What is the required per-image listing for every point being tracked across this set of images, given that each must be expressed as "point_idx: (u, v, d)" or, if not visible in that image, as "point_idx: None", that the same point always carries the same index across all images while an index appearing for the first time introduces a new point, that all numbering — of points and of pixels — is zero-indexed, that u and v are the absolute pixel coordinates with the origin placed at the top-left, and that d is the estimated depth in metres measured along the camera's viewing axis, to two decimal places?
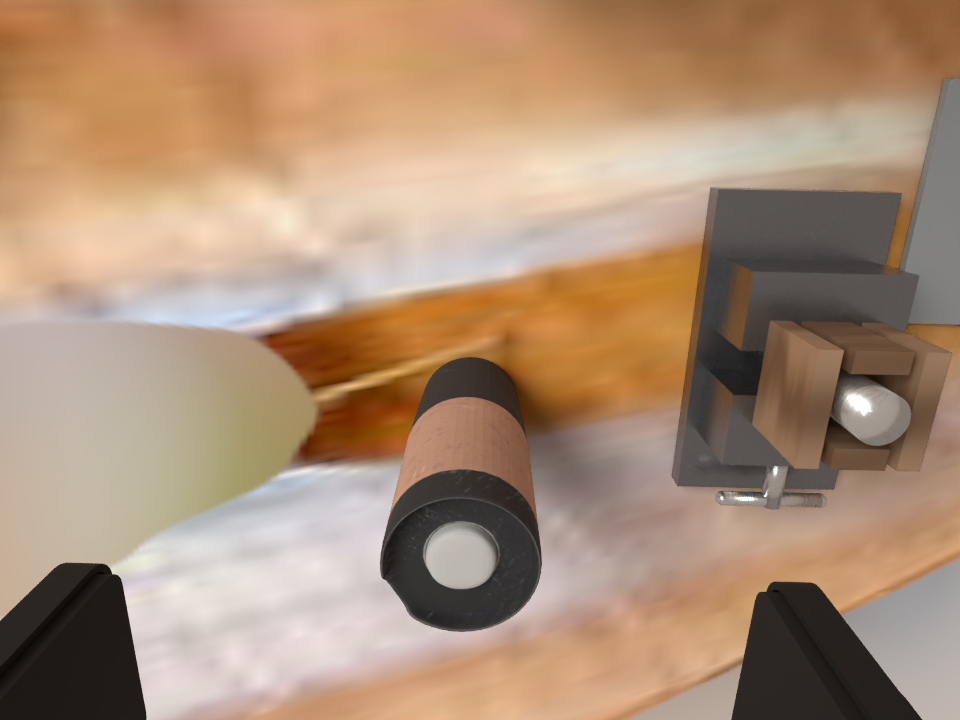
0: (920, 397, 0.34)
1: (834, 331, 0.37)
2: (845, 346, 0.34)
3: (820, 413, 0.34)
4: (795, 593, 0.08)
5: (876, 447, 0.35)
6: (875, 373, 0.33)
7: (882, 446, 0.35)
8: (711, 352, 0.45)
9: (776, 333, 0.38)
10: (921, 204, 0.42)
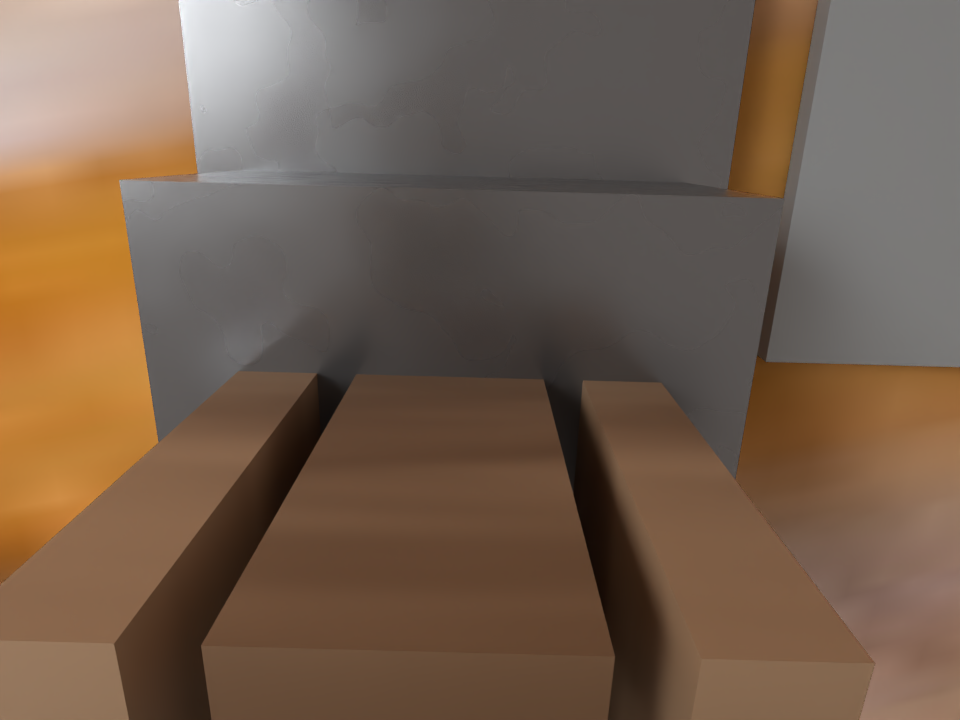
0: None
1: (385, 434, 0.08)
2: (250, 571, 0.06)
3: None
4: None
5: None
6: None
7: None
8: None
9: None
10: (833, 8, 0.14)
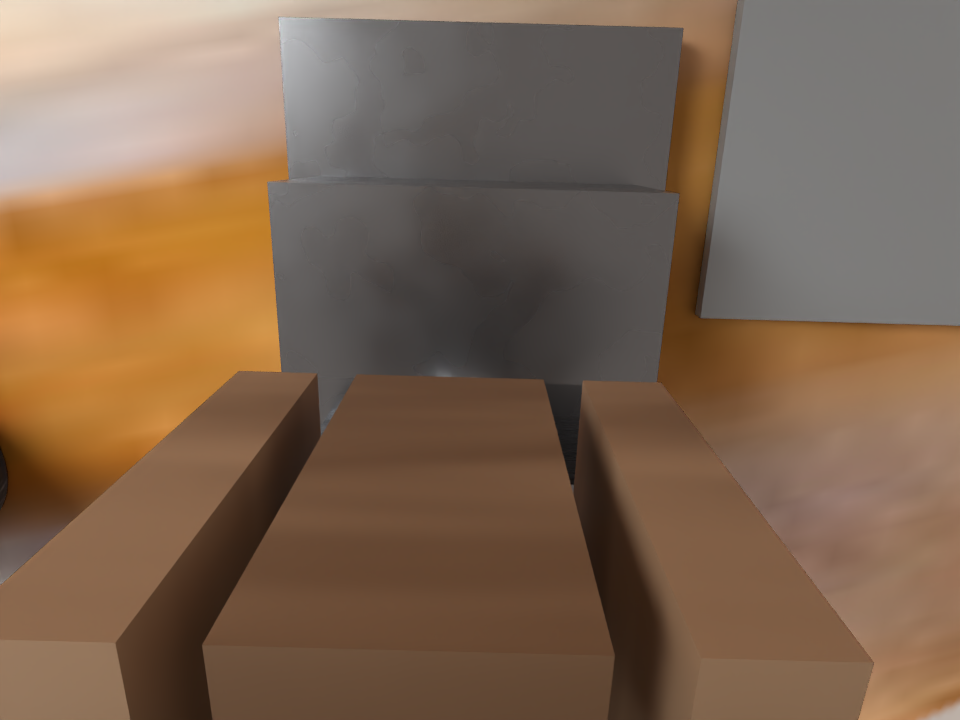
0: None
1: (385, 434, 0.08)
2: (250, 569, 0.06)
3: None
4: None
5: None
6: None
7: None
8: None
9: None
10: (739, 62, 0.20)
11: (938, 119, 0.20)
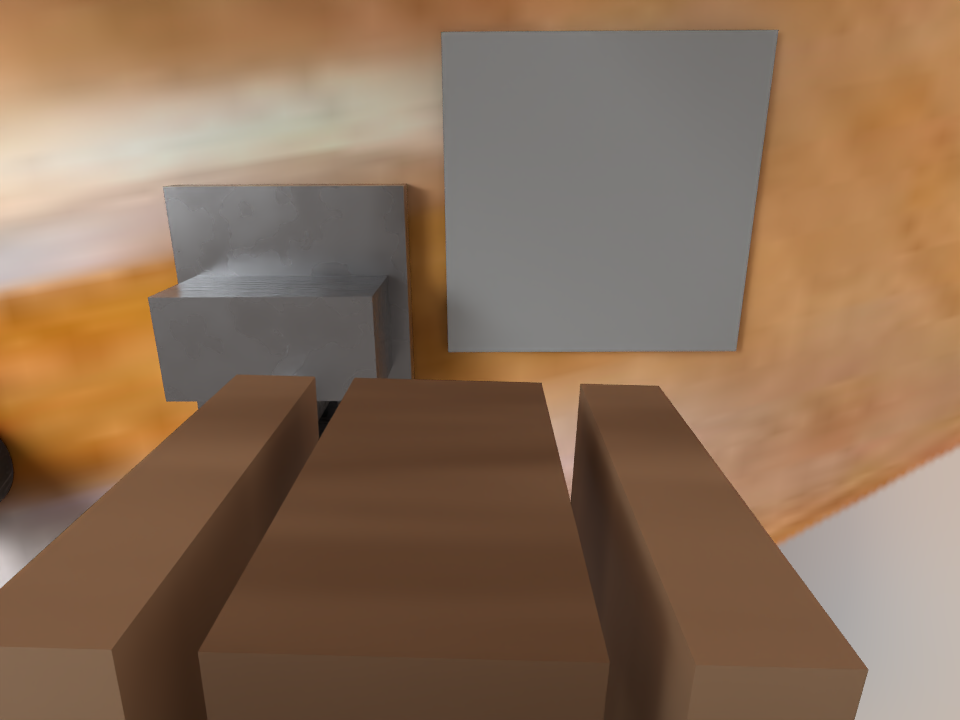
0: None
1: (382, 438, 0.08)
2: (246, 575, 0.06)
3: None
4: None
5: None
6: None
7: None
8: None
9: None
10: (447, 199, 0.32)
11: (573, 228, 0.33)
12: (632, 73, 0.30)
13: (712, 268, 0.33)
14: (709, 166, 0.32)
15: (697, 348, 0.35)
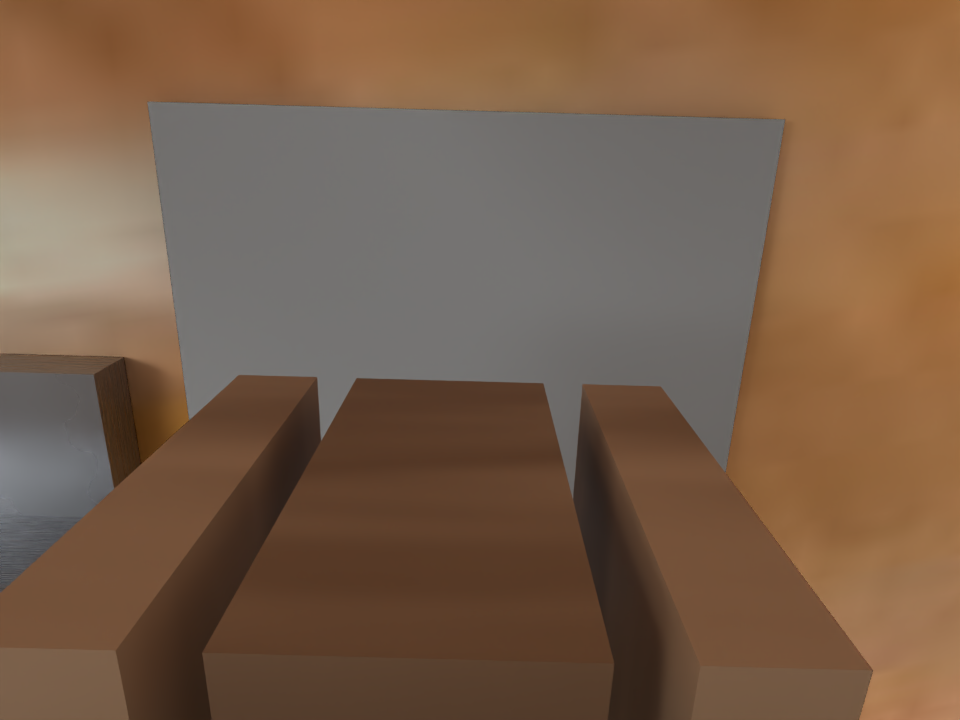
0: None
1: (385, 438, 0.08)
2: (250, 575, 0.06)
3: None
4: None
5: None
6: None
7: None
8: None
9: None
10: (190, 389, 0.18)
11: None
12: (511, 188, 0.16)
13: None
14: (654, 351, 0.18)
15: None
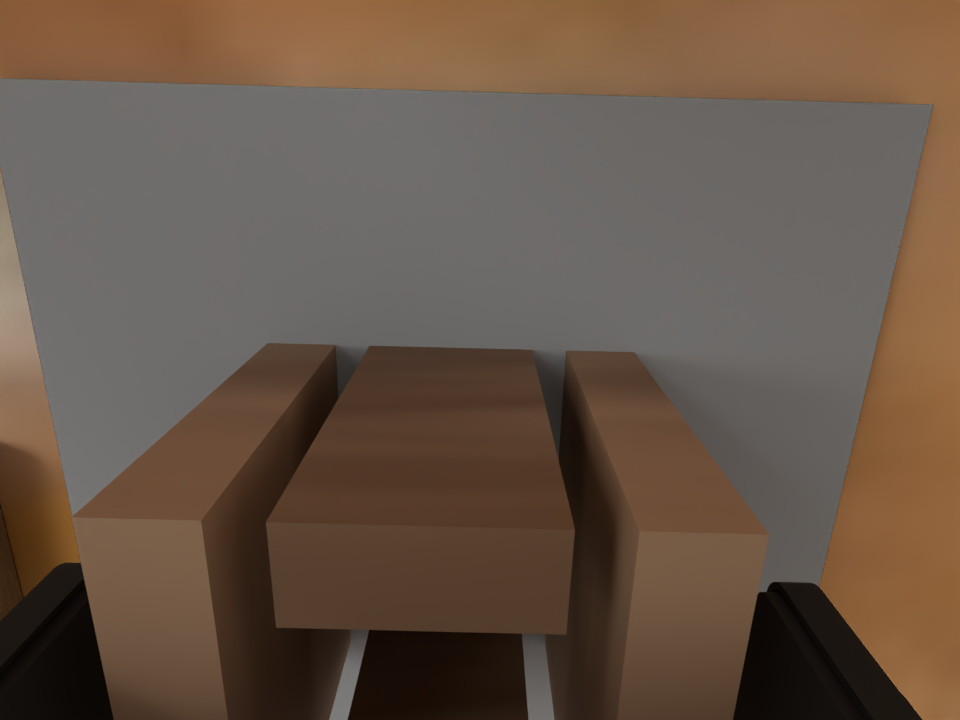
0: None
1: (396, 389, 0.10)
2: (295, 479, 0.07)
3: None
4: (795, 593, 0.08)
5: None
6: (396, 625, 0.07)
7: None
8: None
9: None
10: (73, 484, 0.13)
11: None
12: (524, 206, 0.11)
13: None
14: (725, 435, 0.13)
15: None
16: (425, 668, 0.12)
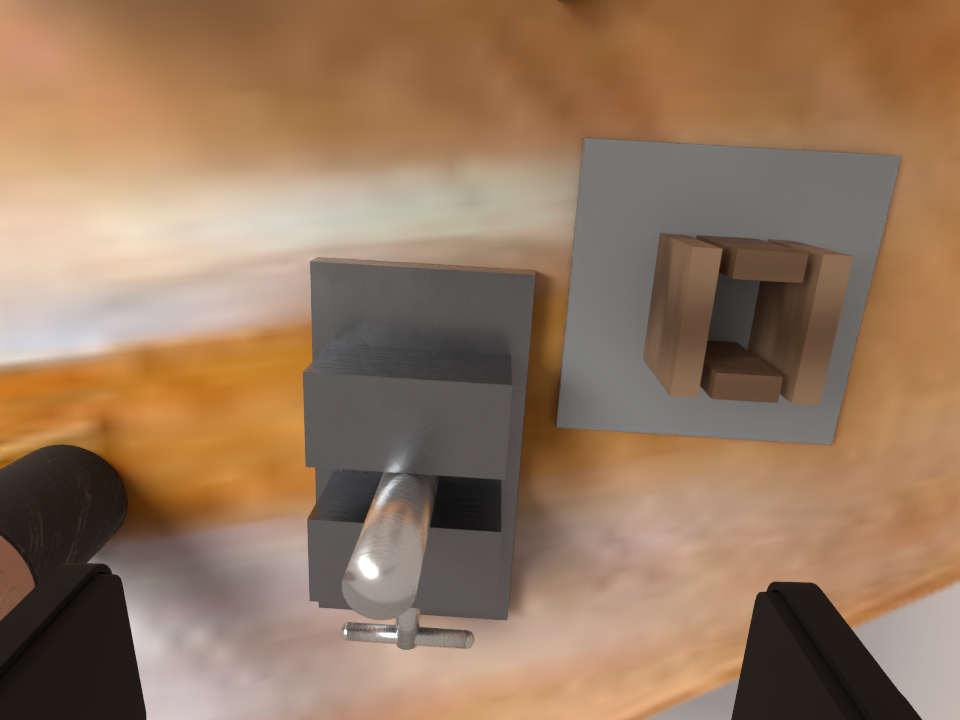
0: (817, 311, 0.28)
1: (727, 240, 0.31)
2: (729, 248, 0.28)
3: (697, 328, 0.29)
4: (795, 593, 0.08)
5: (767, 374, 0.29)
6: (761, 279, 0.28)
7: (775, 374, 0.30)
8: None
9: (663, 245, 0.32)
10: (572, 288, 0.34)
11: None
12: (759, 186, 0.32)
13: None
14: None
15: (794, 440, 0.36)
16: (715, 350, 0.33)
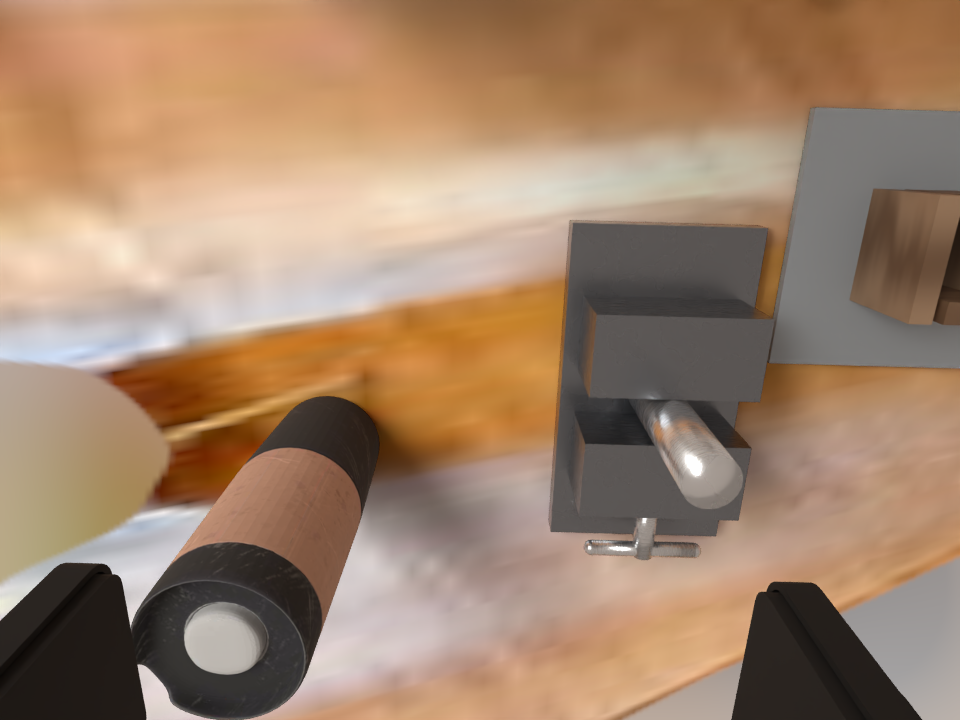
0: None
1: None
2: None
3: (937, 264, 0.34)
4: (795, 593, 0.08)
5: None
6: None
7: None
8: (576, 393, 0.42)
9: (881, 198, 0.38)
10: (793, 239, 0.40)
11: None
12: None
13: None
14: None
15: None
16: None
